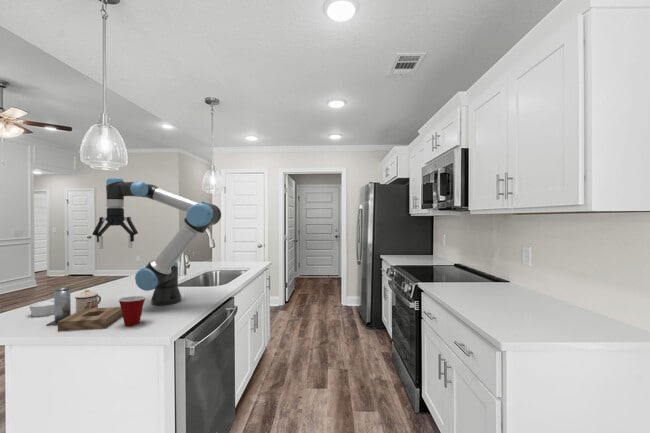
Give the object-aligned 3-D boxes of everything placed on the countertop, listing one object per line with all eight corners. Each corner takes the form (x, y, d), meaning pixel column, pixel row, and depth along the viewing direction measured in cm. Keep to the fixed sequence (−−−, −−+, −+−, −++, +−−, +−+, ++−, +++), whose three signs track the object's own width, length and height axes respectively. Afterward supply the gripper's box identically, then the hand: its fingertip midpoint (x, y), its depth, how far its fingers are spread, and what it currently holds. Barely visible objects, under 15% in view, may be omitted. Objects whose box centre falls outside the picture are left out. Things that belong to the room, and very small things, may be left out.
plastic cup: (151, 320, 143) (151, 294, 143) (135, 328, 132) (135, 300, 132) (129, 319, 144) (129, 293, 144) (112, 327, 133) (112, 300, 133)
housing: (124, 314, 150) (124, 306, 150) (105, 328, 133) (105, 319, 133) (82, 317, 147) (82, 308, 147) (57, 331, 129) (57, 321, 129)
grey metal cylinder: (73, 318, 143) (73, 286, 143) (65, 322, 138) (65, 289, 138) (59, 319, 142) (59, 286, 142) (51, 323, 137) (51, 289, 136)
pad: (77, 318, 145) (77, 317, 145) (67, 324, 137) (67, 323, 137) (58, 319, 143) (58, 318, 143) (46, 325, 135) (46, 324, 135)
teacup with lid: (85, 316, 148) (85, 292, 148) (70, 315, 149) (70, 291, 149) (107, 309, 159) (107, 286, 159) (93, 307, 161) (93, 285, 161)
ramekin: (65, 311, 155) (65, 301, 155) (40, 318, 145) (40, 307, 145) (49, 309, 158) (49, 299, 158) (23, 316, 148) (23, 305, 148)
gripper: (144, 207, 167) (144, 246, 167) (91, 208, 161) (92, 248, 161) (139, 207, 159) (139, 248, 159) (84, 207, 154) (84, 249, 154)
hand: (115, 248), depth 160 cm, fingers open, 13 cm apart
